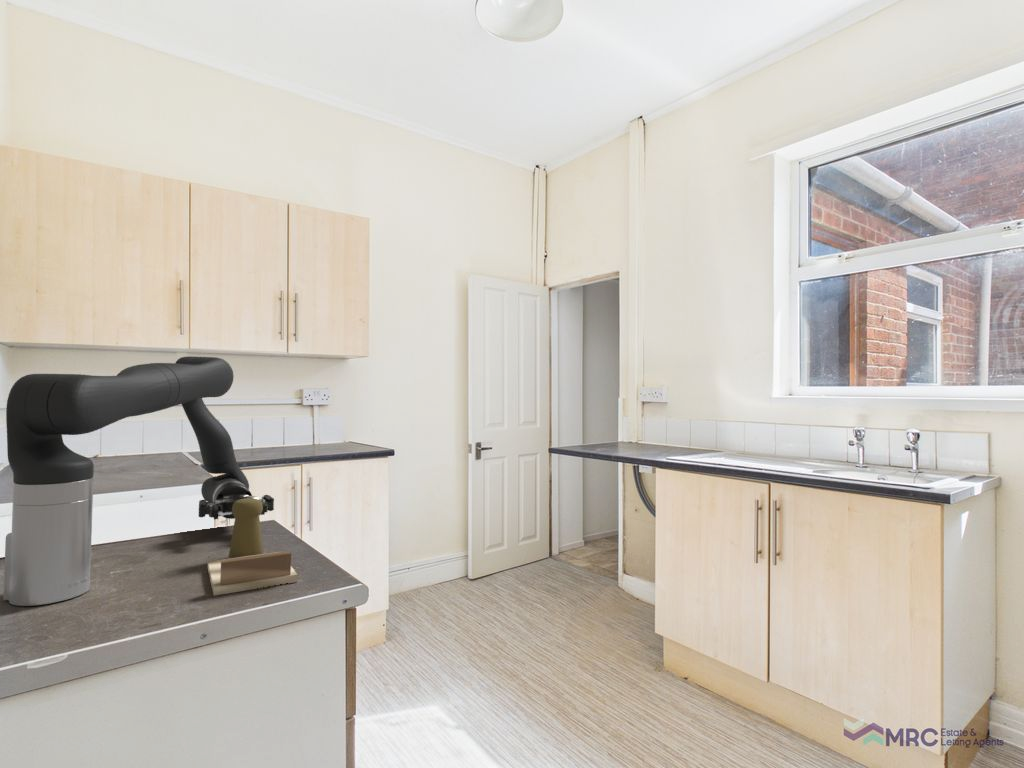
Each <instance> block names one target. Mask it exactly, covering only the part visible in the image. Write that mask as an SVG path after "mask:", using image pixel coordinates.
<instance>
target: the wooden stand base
mask: <svg viewBox="0 0 1024 768" xmlns="http://www.w3.org/2000/svg"><path fill="white" fill-rule="evenodd" d="M228 558H229V557H228ZM228 558H223V559H215V560H214V559H213V560H210V561H207V571H208V572H207V573H208V576H209V582H210V585H211V589H212V594H213V597H214V596H219V595H225V594H233V593H237V592H244V591H249V590H250V591H251V590H257V588H258V589H264V588H267V587H268V586H270V587H275V586H274V585H276V586H281V585H280V584H282V585H287V584H286V583H288V584H293V583H298V573H297V572H296V570H295V569H294V568H293V566H292V565H291V564H292V563H291V562H292V552H291V551H290V550H286V551H275V552H269V553H264V554H259V555H252V556H244V557H237V558H229V559H228ZM263 587H264V588H263ZM268 588H269V587H268Z"/></svg>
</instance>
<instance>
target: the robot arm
mask: <svg viewBox="0 0 1024 768" xmlns="http://www.w3.org/2000/svg"><path fill="white" fill-rule="evenodd" d="M233 382H234V371H233V368H232V365H230V364H229V362H227V360H225V359H223V358H220V357H214V356H191V355H190V356H182V357H180V358H178V359H177V360H176V361H175V362H151V363H143V364H142V363H141V364H136V365H131V366H128V367H125V368H124V369H122V370H121V371H119V372H118V374H116V375H90V374H81V373H79V374H78V373H77V374H76V373H75V374H74V373H31V374H26V375H24V376H21V377H20V378H18V379H17V380H16V381H15V382H14V384H13V385H12V387H11V389H10V391H9V393H8V397H7V401H6V411H5V412H6V413H5V414H6V415H5V416H6V417H5V419H6V420H5V421H6V422H5V423H6V443H7V445H6V448H7V461H8V464H9V466H10V468H11V471H12V474H13V475H12V476H13V477H12V478H13V481H12V482H13V483H12V484H13V485H12V486H13V487H12V513H11V515H12V517H11V518H12V519H11V532H8V533H7V534H6V536H5V541H4V542H5V545H4V546H5V547H4V571H3V573H4V575H3V601H8V602H9V604H11V605H13V606H19V607H20V606H21V607H26V606H27V607H29V606H30V607H31V606H41V605H42V606H43V605H48V604H53V603H58V602H62V601H67V600H69V599H73V598H76V597H79V596H81V595H83V594H85V593H87V592H88V591H89V590H90V587H91V585H90V584H91V563H92V562H91V559H92V532H93V530H92V529H93V503H94V501H93V500H94V497H93V495H94V494H93V493H94V471H95V470H94V469H95V468H94V466H95V465H94V462H93V460H92V459H91V458H89V457H87V456H85V455H81V454H80V453H77V452H74V451H73V450H72V449H70V448H69V447H68V446H67V445H66V444H65V443H64V440H63V436H77V435H85V434H90V433H93V432H96V431H98V430H101V429H102V428H105V427H107V426H110V425H111V424H114V423H116V422H119V421H121V420H123V419H126V418H130V417H131V418H132V417H138V416H142V415H147V414H152V413H156V412H160V411H162V410H163V411H164V410H166V409H170V408H172V407H175V406H180V405H181V406H182V409H183V411H184V414H185V415H186V417H187V420H188V422H189V424H190V426H191V427H192V430H193V433H194V434H195V437H196V440H197V443H198V446H199V451H200V455H201V459H202V463H203V467H204V469H205V471H206V472H208V474H215V475H216V474H217V476H212V477H209V478H207V479H205V480H204V481H203V483H202V484H201V496H202V498H203V499H200V500H199V501H198V518H204V517H206V515H208V517H209V518H213V520H219V517H223V518H225V519H228V520H229V519H230V520H233V519H234V520H235V517H234V516H233V514H232V506H233V504H234V502H236V501H237V500H240V499H245V498H255V499H259V500H261V502H262V505H263V510H262V513H261V514H260V516H263V515H265V514H266V513H268V511H269V512H272V511H274V509H275V506H274V504H275V503H274V502H275V498H274V497H272V496H271V495H268V494H265V495H263V496H262V497H261V498H259V497H258V496H253V494H252V492H251V491H250V484H249V480H248V479H247V476H246V475H245V473H244V472H243V470H242V469H241V467H240V466H239V464H238V461H237V458H236V454H235V450H234V446H233V441H232V438H231V436H230V432H228V430H227V429H226V428H225V426H224V425H223V424H222V423H221V422H220V420H218V419H217V418H216V417H215V416H214V414H212V413H211V411H210V410H209V408H208V407H207V405H206V403H205V401H204V398H220V397H222V396H224V395H226V393H228V392H229V390H230V389H231V388H232V385H233ZM218 474H219V475H218Z"/></svg>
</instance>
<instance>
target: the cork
mask: <svg viewBox="0 0 1024 768" xmlns="http://www.w3.org/2000/svg"><path fill="white" fill-rule="evenodd" d="M259 499H260V498H258V499H255V498H245V499H240V500H237V501H236V502H234V504H233V506H232V514H233V516H234V517H235V519H234V521H233V522H234V524H233V529H232V534H231V540H230V545H229V553H228V557H227V559H229V558H237V557H244V556H252V555H259V554H265V553H264V546H263V539H262V537H263V536H262V530H261V520H260V516H261V515H260V514H261V513H262V510H263V505H262V502H261V500H259Z"/></svg>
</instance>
